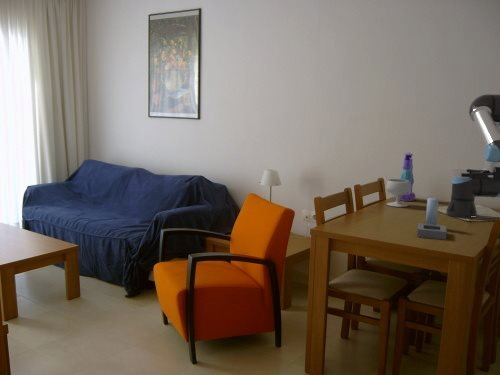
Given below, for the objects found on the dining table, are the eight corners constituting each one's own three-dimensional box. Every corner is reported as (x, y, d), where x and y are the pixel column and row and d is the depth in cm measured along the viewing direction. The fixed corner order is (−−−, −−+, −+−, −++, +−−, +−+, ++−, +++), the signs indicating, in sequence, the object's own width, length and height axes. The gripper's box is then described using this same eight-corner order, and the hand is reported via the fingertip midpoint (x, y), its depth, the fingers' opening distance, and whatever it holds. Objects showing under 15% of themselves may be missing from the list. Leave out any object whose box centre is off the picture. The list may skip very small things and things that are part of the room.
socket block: (444, 233, 218) (445, 225, 218) (446, 239, 207) (446, 231, 207) (417, 230, 222) (417, 223, 222) (417, 236, 211) (417, 229, 211)
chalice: (380, 204, 283) (381, 179, 280) (394, 202, 291) (396, 178, 288) (400, 208, 272) (401, 183, 269) (414, 206, 280) (416, 181, 277)
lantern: (419, 201, 294) (422, 153, 289) (401, 202, 292) (405, 153, 287) (409, 197, 307) (412, 151, 302) (392, 198, 305) (395, 151, 300)
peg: (436, 226, 230) (438, 198, 228) (436, 229, 226) (438, 200, 223) (425, 225, 232) (427, 197, 230) (425, 228, 227) (427, 199, 225)
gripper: (506, 186, 205) (453, 183, 212) (498, 180, 228) (450, 178, 235) (508, 169, 203) (454, 167, 211) (499, 164, 227) (451, 162, 234)
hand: (452, 172), depth 223 cm, fingers open, 13 cm apart
